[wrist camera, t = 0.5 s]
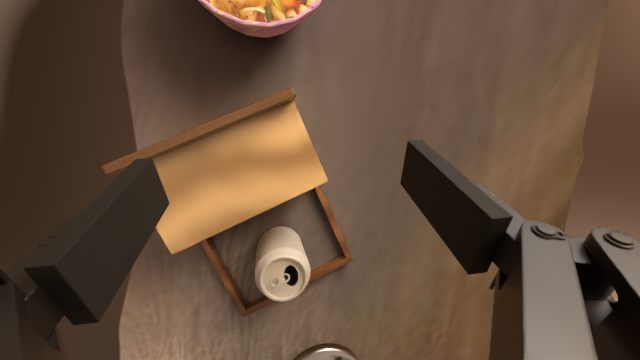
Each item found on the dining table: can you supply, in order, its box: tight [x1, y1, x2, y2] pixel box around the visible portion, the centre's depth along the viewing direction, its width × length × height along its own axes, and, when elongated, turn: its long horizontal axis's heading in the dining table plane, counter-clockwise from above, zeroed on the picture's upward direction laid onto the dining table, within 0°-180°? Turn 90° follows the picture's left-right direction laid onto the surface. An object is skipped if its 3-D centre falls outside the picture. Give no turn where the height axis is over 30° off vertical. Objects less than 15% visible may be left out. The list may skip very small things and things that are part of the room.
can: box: [255, 226, 310, 302], centre depth 39 cm, size 8×8×12 cm
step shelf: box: [102, 88, 353, 317], centre depth 37 cm, size 29×21×14 cm
